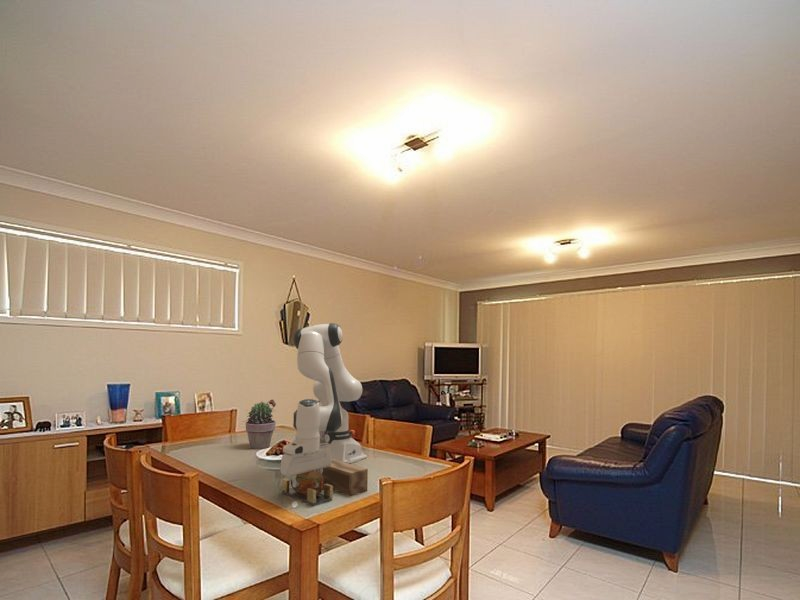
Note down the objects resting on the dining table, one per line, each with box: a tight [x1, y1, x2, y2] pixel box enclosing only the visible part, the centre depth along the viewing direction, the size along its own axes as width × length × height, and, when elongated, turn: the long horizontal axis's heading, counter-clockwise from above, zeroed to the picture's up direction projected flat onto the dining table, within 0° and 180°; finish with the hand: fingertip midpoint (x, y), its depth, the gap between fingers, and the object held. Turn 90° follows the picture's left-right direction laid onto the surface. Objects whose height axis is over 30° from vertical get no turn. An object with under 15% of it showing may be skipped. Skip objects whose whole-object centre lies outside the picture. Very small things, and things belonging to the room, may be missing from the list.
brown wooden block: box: [315, 459, 369, 496], centre depth 175 cm, size 8×22×8 cm, turn 46°
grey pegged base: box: [280, 477, 334, 507], centre depth 164 cm, size 8×20×5 cm, turn 46°
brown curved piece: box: [290, 470, 324, 495], centre depth 164 cm, size 15×3×8 cm, turn 55°
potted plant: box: [241, 399, 277, 450], centre depth 243 cm, size 18×20×25 cm
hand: (306, 483), depth 164 cm, fingers open, 8 cm apart
